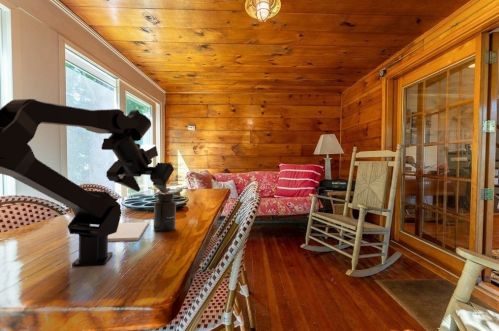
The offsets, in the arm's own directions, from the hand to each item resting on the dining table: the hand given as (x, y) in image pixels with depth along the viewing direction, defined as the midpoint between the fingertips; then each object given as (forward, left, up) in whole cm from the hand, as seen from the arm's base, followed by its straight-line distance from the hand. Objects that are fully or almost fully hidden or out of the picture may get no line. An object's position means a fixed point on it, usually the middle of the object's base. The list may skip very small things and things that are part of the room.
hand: (152, 191), depth 81 cm
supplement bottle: (+6, -3, -14) cm, 15 cm away
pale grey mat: (+4, +9, -13) cm, 16 cm away
